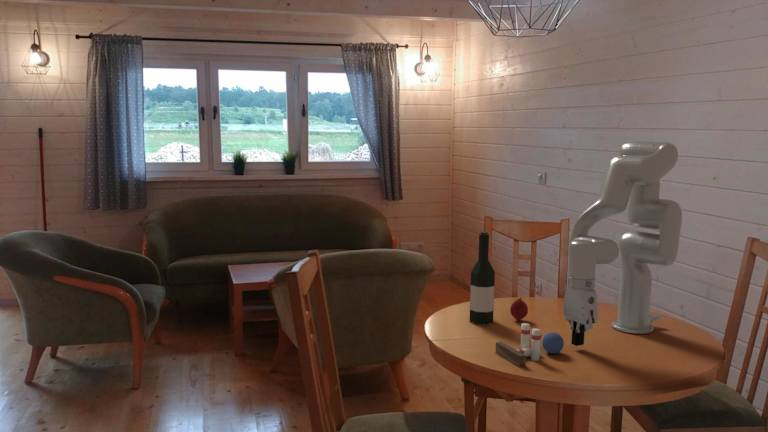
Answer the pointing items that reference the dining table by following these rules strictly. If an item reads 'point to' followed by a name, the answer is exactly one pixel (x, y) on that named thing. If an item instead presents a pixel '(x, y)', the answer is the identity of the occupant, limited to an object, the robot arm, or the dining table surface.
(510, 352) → the wall
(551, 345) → the ball
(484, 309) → the wine bottle
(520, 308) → the onion
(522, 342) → the pin
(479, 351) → the dining table surface
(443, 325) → the dining table surface
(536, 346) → the pin
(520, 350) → the pin front
